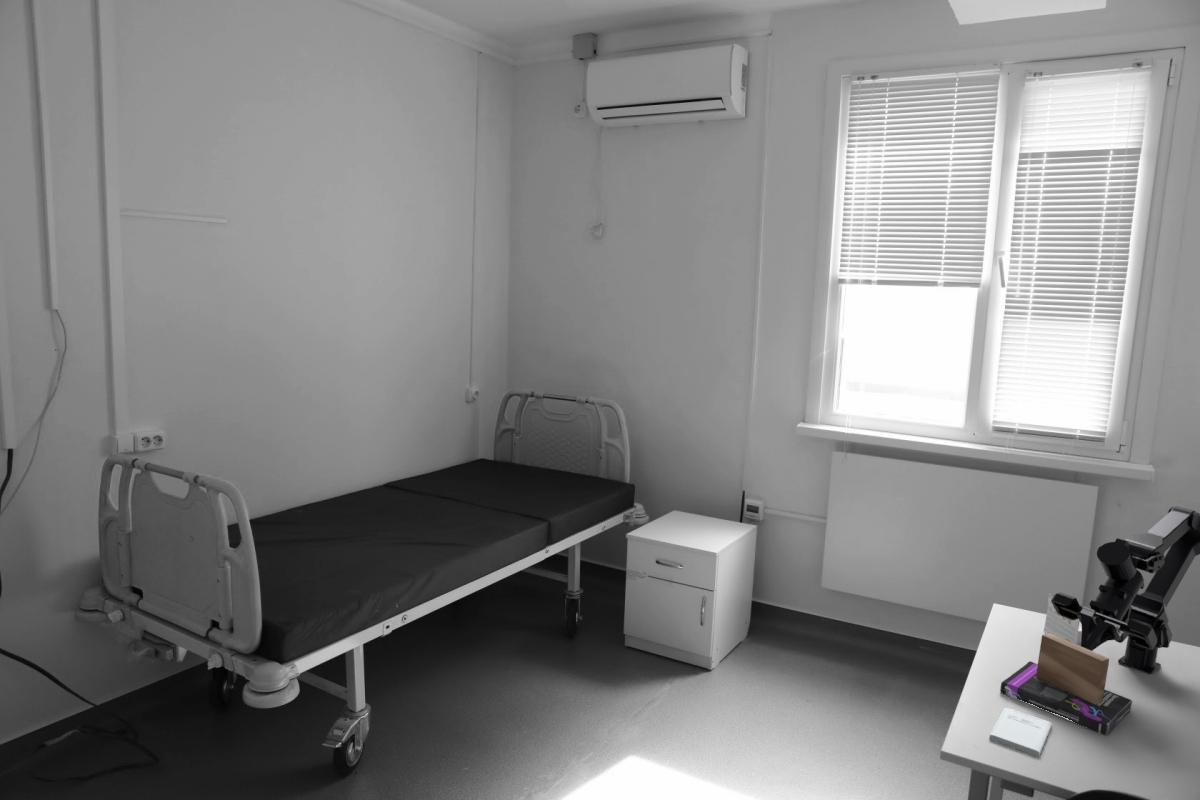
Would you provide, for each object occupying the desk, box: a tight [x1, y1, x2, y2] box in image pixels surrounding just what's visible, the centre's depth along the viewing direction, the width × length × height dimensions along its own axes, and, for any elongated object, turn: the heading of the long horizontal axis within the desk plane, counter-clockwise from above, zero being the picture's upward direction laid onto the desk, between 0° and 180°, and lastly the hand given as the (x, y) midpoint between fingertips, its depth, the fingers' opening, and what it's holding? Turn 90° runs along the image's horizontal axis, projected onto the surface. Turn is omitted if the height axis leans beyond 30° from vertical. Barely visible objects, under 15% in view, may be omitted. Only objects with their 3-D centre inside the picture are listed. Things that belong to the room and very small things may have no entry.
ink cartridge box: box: [1043, 592, 1082, 646], centre depth 190 cm, size 2×11×10 cm, turn 7°
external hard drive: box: [989, 707, 1053, 757], centre depth 151 cm, size 2×8×12 cm
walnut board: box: [1036, 632, 1110, 705], centre depth 162 cm, size 2×12×9 cm, turn 30°
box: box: [999, 661, 1133, 737], centre depth 163 cm, size 14×4×20 cm
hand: (1083, 653), depth 165 cm, fingers closed
